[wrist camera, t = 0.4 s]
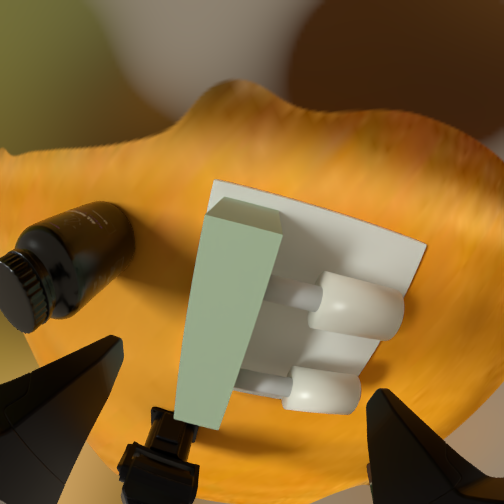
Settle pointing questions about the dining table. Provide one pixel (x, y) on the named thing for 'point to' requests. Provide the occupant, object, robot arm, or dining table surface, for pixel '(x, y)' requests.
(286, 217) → the mount
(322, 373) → the knob
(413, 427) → the robot arm
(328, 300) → the knob
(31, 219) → the dining table surface
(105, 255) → the supplement bottle
